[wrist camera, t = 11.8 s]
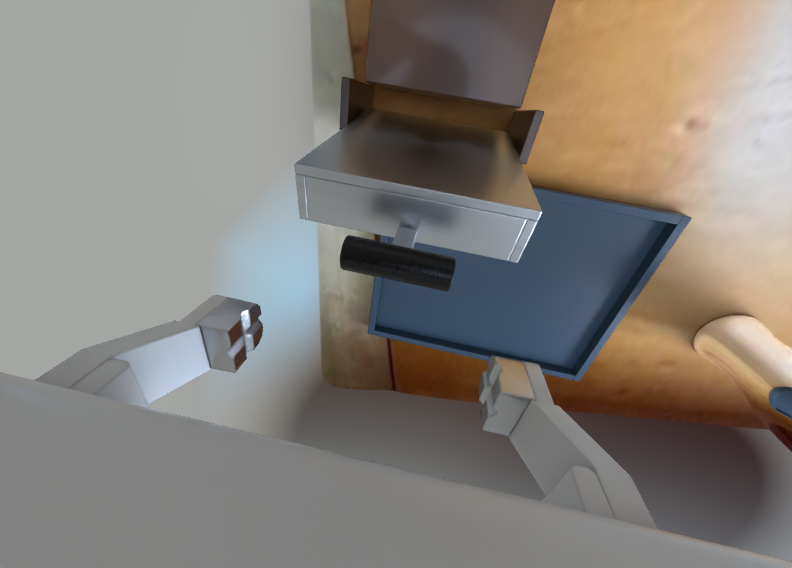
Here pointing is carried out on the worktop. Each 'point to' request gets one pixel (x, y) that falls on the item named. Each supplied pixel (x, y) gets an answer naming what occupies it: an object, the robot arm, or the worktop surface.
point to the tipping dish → (418, 195)
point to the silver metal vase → (753, 367)
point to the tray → (537, 287)
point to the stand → (454, 56)
